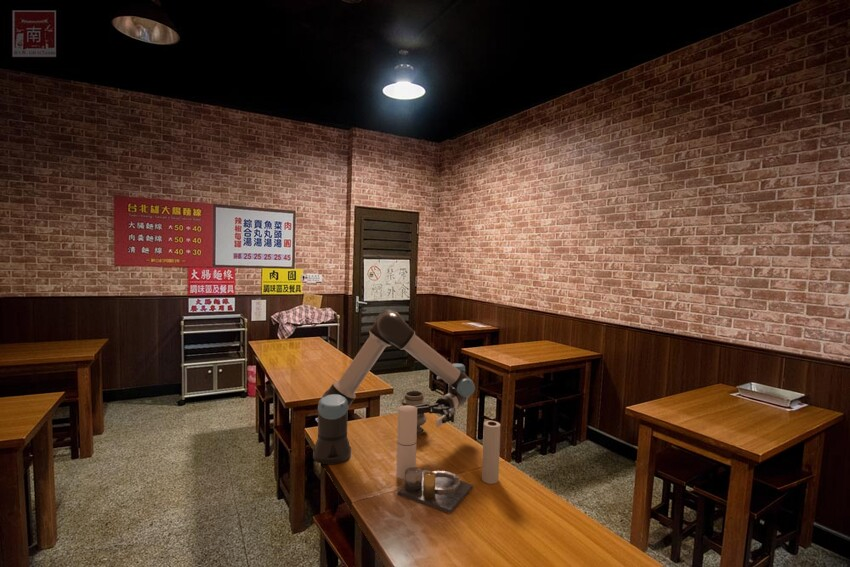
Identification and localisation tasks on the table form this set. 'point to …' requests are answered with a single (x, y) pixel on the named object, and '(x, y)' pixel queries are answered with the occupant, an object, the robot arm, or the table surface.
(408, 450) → the cylindrical container
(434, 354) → the robot arm
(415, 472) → the carrier
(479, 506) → the table surface
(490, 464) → the paper towel roll
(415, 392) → the apothecary jar
